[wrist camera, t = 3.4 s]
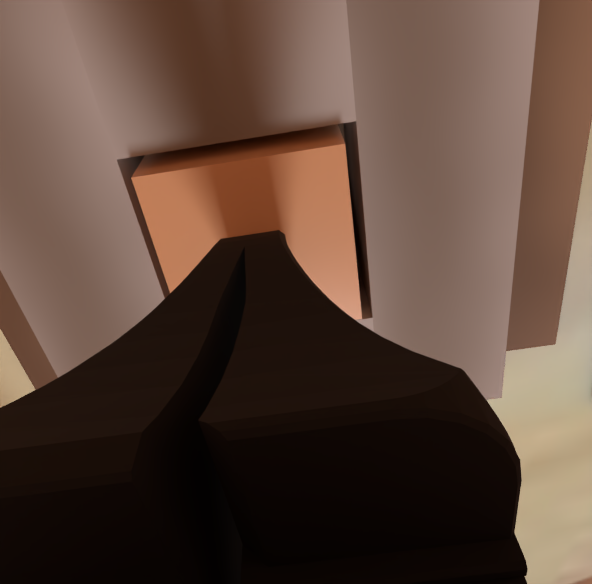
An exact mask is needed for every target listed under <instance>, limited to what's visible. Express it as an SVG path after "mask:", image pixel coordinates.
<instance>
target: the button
mask: <svg viewBox="0 0 592 584" xmlns="http://www.w3.org/2000/svg"><path fill="white" fill-rule="evenodd" d="M131 179H132V182H133V185H134V188H135V191H136V194H137V197H138V199H139V202H140V205H141V208H142V211H143V214H144V217H145V220H146V223H147V226H148V229H149V232H150V235H151V238H152V241H153V244H154V247H155V250H156V253H157V256H158V259H159V262H160V265H161V268H162V271H163V274H164V277H165V280H166V283H167V285H168V288H169V291H170V293H171V292H172V291H173V290H174V289H175V288H176V287H177V286H178V285H179V284H180V283H181V282H182V281H183V280H184V279H185V278H186V277H187V276H188V275H189V273H190V272H191V271H192V270H193V269H194V268H195V267H196V266H197V265H198V263H199V262H200V261H201V260H202V259H203V258H204V257H205V255H206V254H207V253H208V252H209V251H210V250H211V249H212V247H213V246H214V245H215V244H216V243H217V242H218V241H219V240H220V239H222V238H229V237H236V236H242V235H249V234H256V233H262V232H269V231H276V230H280V231H281V232H282V233H284V234H285V236H286V242H287V245H288V247H289V249H290V250H291V252H292V254H293V256H294V257H295V259H296V260H297V262H298V263H299V265H300V266H301V267H302V269H303V270H304V271H305V273H306V274H307V275H308V276H309V278H310V279H311V280H312V281H313V282H314V283H315V284H316V286H317V287H318V288H319V289H320V290H321V291H322V292H323V293H324V294H325V295H326V296H327V297H328V298H329V299H330V300H331V301H332V302H333V303H335V304H336V305H337V306H338V307H339V308H341V309H342V310H343V311H344V312H345V313H347V314H348V315H349V316H351V317H352V318H353V319H355V320H358V319H362V312H361V301H360V291H359V281H358V271H357V260H356V250H355V240H354V229H353V219H352V209H351V198H350V188H349V178H348V168H347V157H346V147H345V142H344V139H343V137H342V134H341V131H340V129H339V126H338V124H335V125H329V126H323V127H317V128H310V129H304V130H298V131H292V132H286V133H279V134H273V135H267V136H261V137H254V138H248V139H242V140H236V141H229V142H223V143H217V144H211V145H205V146H198V147H192V148H186V149H180V150H173V151H167V152H161V153H155V154H148V155H145V156H144V158H143V159H142V161H141V163H140V164H139V166H138V167H137V169H136V171H135V172H134V174H133V175H132V177H131Z"/></svg>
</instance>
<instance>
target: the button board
mask: <svg viewBox="0 0 592 584" xmlns="http://www.w3.org/2000/svg"><path fill="white" fill-rule="evenodd" d="M591 120H592V0H0V329H1V330H2V332H3V334H4V336H5V337H6V339H7V341H8V342H9V344H10V346H11V348H12V349H13V351H14V353H15V355H16V356H17V358H18V360H19V361H20V363H21V365H22V367H23V368H24V370H25V372H26V374H27V375H28V377H29V379H30V381H31V382H32V384H33V386H34V387H35V389H36V390H37V389H39V388H41V387H42V386H44V385H46V384H48V383H49V382H51V381H53V380H55V379H57V378H58V377H60V376H62V375H64V374H65V373H67V372H69V371H70V370H72V369H73V368H75V367H76V366H78V365H80V364H81V363H83V362H84V361H86V360H87V359H89V358H90V357H92V356H93V355H95V354H96V353H98V352H99V351H101V350H102V349H104V348H105V347H107V346H109V345H110V344H111V343H113V342H114V341H116V340H117V339H118V338H120V337H121V336H122V335H123V334H125V333H126V332H127V331H129V330H130V329H131V328H132V327H134V326H135V325H136V324H137V323H139V322H140V321H141V320H142V319H143V318H145V317H146V316H147V315H148V314H149V313H150V312H151V311H153V310H154V309H155V308H156V307H157V306H158V305H159V304H160V303H161V302H162V301H163V300H164V299H165V298H166V297H167V296H168V295H169V294H170V291H169V288H168V285H167V283H166V280H165V277H164V274H163V271H162V268H161V265H160V262H159V259H158V256H157V253H156V250H155V247H154V244H153V241H152V238H151V235H150V232H149V229H148V226H147V223H146V220H145V217H144V214H143V211H142V208H141V205H140V202H139V199H138V197H137V194H136V191H135V188H134V185H133V182H132V179H131V177H132V175H133V174H134V172H135V171H136V169H137V167H138V166H139V164H140V163H141V161H142V159H143V158H144V156H145V155H148V154H155V153H161V152H167V151H173V150H180V149H186V148H192V147H198V146H205V145H211V144H217V143H223V142H229V141H236V140H242V139H248V138H254V137H261V136H267V135H273V134H279V133H286V132H292V131H298V130H304V129H310V128H317V127H323V126H329V125H335V124H338V126H339V129H340V131H341V134H342V137H343V139H344V142H345V147H346V157H347V168H348V178H349V188H350V198H351V209H352V219H353V229H354V240H355V250H356V260H357V271H358V281H359V291H360V301H361V312H362V319H358V320H356V321H357V322H359V323H360V324H362V325H364V326H365V327H367V328H368V329H370V330H372V331H373V332H375V333H377V334H378V335H380V336H382V337H384V338H386V339H388V340H390V341H392V342H394V343H396V344H398V345H400V346H402V347H404V348H407V349H409V350H411V351H413V352H416V353H419V354H421V355H424V356H427V357H430V358H433V359H436V360H438V361H441V362H444V363H447V364H450V365H452V366H455V367H458V368H461V369H462V370H464V371H465V372H466V374H467V375H468V376H469V378H470V379H471V380H472V381H473V383H474V384H475V385H476V387H477V388H478V389H479V391H480V392H481V394H482V395H483V396H484V398H485V399H486V400H487V399H495V398H502V388H503V377H504V367H505V356H506V351H510V350H517V349H524V348H532V347H539V346H546V345H553V344H555V343H556V337H557V331H558V325H559V318H560V312H561V306H562V300H563V294H564V287H565V281H566V275H567V269H568V263H569V256H570V250H571V244H572V238H573V231H574V225H575V219H576V213H577V207H578V200H579V194H580V188H581V182H582V176H583V169H584V163H585V157H586V151H587V145H588V138H589V132H590V126H591Z"/></svg>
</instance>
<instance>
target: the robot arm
mask: <svg viewBox="0 0 592 584" xmlns="http://www.w3.org/2000/svg"><path fill="white" fill-rule="evenodd" d="M520 487H521V467H520V459H519V457H518V455H517V453H516V451H515V448H514V445H513V443H512V441H511V439H510V437H509V435H508V433H507V431H506V430H505V428H504V426H503V425H502V423H501V421H500V420H499V418H498V417H497V415H496V414H495V412H494V411H493V409H492V408H491V406H490V405H489V403H488V402H487V401H486V399H485V398H484V396H483V395H482V394H481V392H480V391H479V389H478V388H477V387H476V385H475V384H474V383H473V381H472V380H471V379H470V378H469V376H468V375H467V374H466V372H465V371H464V370H462V369H461V368H458V367H455V366H452V365H450V364H447V363H444V362H441V361H438V360H436V359H433V358H430V357H427V356H424V355H421V354H419V353H416V352H413V351H411V350H409V349H407V348H404V347H402V346H400V345H398V344H396V343H394V342H392V341H390V340H388V339H386V338H384V337H382V336H380V335H378V334H377V333H375V332H373V331H372V330H370V329H368V328H367V327H365V326H364V325H362V324H360V323H359V322H357V321H356V320H355V319H353V318H352V317H351V316H349V315H348V314H347V313H345V312H344V311H343V310H342V309H341V308H339V307H338V306H337V305H336V304H335V303H333V302H332V301H331V300H330V299H329V298H328V297H327V296H326V295H325V294H324V293H323V292H322V291H321V290H320V289H319V288H318V287H317V286H316V284H315V283H314V282H313V281H312V280H311V279H310V278H309V276H308V275H307V274H306V273H305V271H304V270H303V269H302V267H301V266H300V265H299V263H298V262H297V260H296V259H295V257H294V256H293V254H292V252H291V250H290V249H289V247H288V245H287V242H286V236H285V234H284V233H282V232H281V231H280V230H276V231H269V232H262V233H256V234H249V235H242V236H236V237H229V238H222V239H220V240H219V241H218V242H217V243H216V244H215V245H214V246H213V247H212V249H211V250H210V251H209V252H208V253H207V254H206V255H205V257H204V258H203V259H202V260H201V261H200V262H199V263H198V265H197V266H196V267H195V268H194V269H193V270H192V271H191V272H190V273H189V275H188V276H187V277H186V278H185V279H184V280H183V281H182V282H181V283H180V284H179V285H178V286H177V287H176V288H175V289H174V290H173V291H172V292H171V293H170V294H169V295H168V296H167V297H166V298H165V299H164V300H163V301H162V302H161V303H160V304H159V305H158V306H157V307H156V308H155V309H154V310H153V311H151V312H150V313H149V314H148V315H147V316H146V317H145V318H143V319H142V320H141V321H140V322H139V323H137V324H136V325H135V326H134V327H132V328H131V329H130V330H129V331H127V332H126V333H125V334H123V335H122V336H121V337H120V338H118V339H117V340H116V341H114V342H113V343H111V344H110V345H109V346H107V347H105V348H104V349H102V350H101V351H99V352H98V353H96V354H95V355H93V356H92V357H90V358H89V359H87V360H86V361H84V362H83V363H81V364H80V365H78V366H76V367H75V368H73V369H72V370H70V371H69V372H67V373H65V374H64V375H62V376H60V377H58V378H57V379H55V380H53V381H51V382H49V383H48V384H46V385H44V386H42V387H41V388H39V389H37V390H35V391H33V392H31V393H29V394H27V395H25V396H23V397H21V398H20V399H18V400H16V401H14V402H12V403H10V404H8V405H6V406H3V407H1V408H0V584H527V582H526V579H525V577H524V576H526V575H527V565H526V560H525V558H524V555H523V553H522V550H521V548H520V546H519V543H518V541H517V538H516V536H515V534H514V530H515V523H516V516H517V509H518V502H519V495H520Z"/></svg>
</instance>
